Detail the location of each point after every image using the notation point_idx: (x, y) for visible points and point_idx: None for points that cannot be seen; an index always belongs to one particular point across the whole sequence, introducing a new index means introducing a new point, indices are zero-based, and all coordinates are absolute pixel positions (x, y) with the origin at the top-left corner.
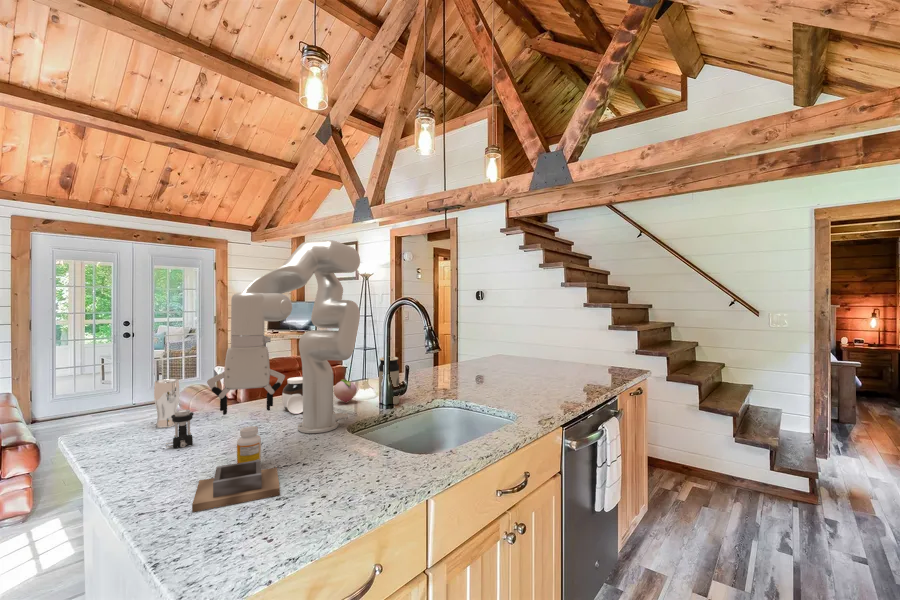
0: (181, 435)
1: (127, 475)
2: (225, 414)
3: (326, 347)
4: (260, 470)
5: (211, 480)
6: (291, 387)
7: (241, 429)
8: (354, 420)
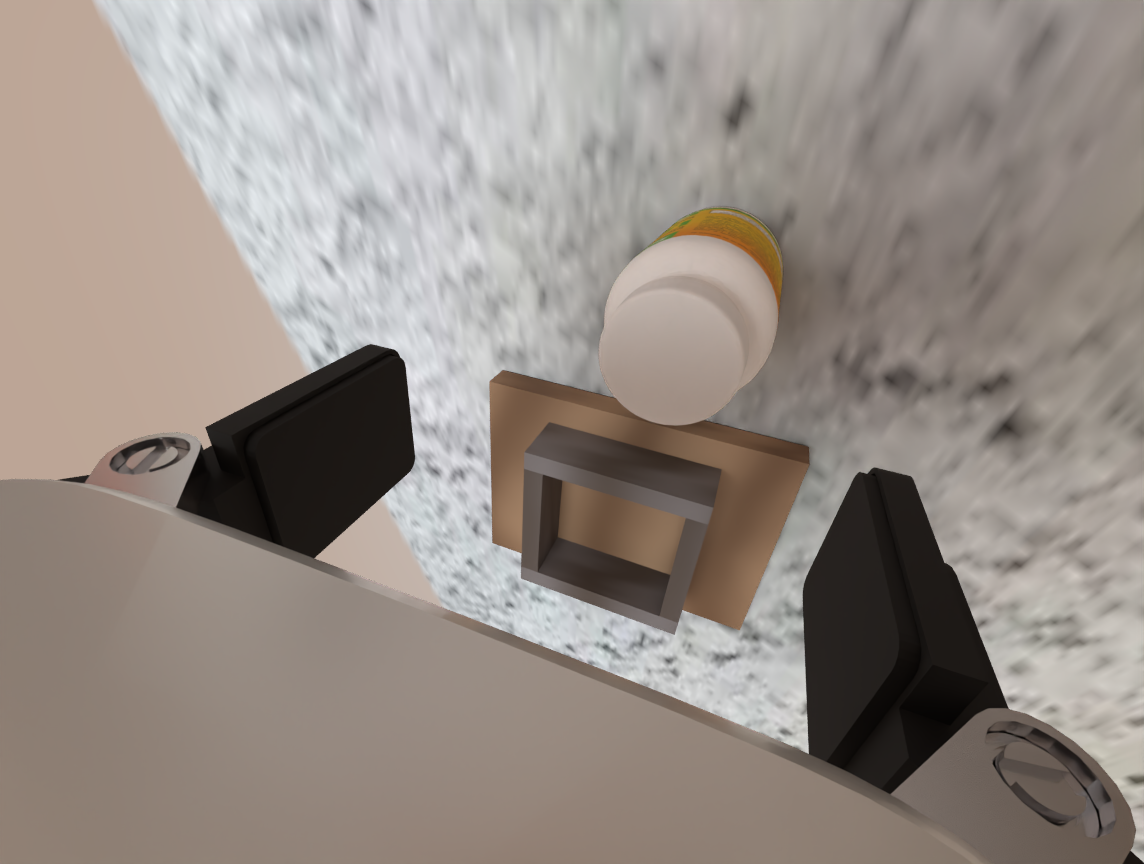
0: None
1: (194, 11)
2: (409, 462)
3: None
4: (679, 605)
5: (531, 413)
6: None
7: (608, 341)
8: None
